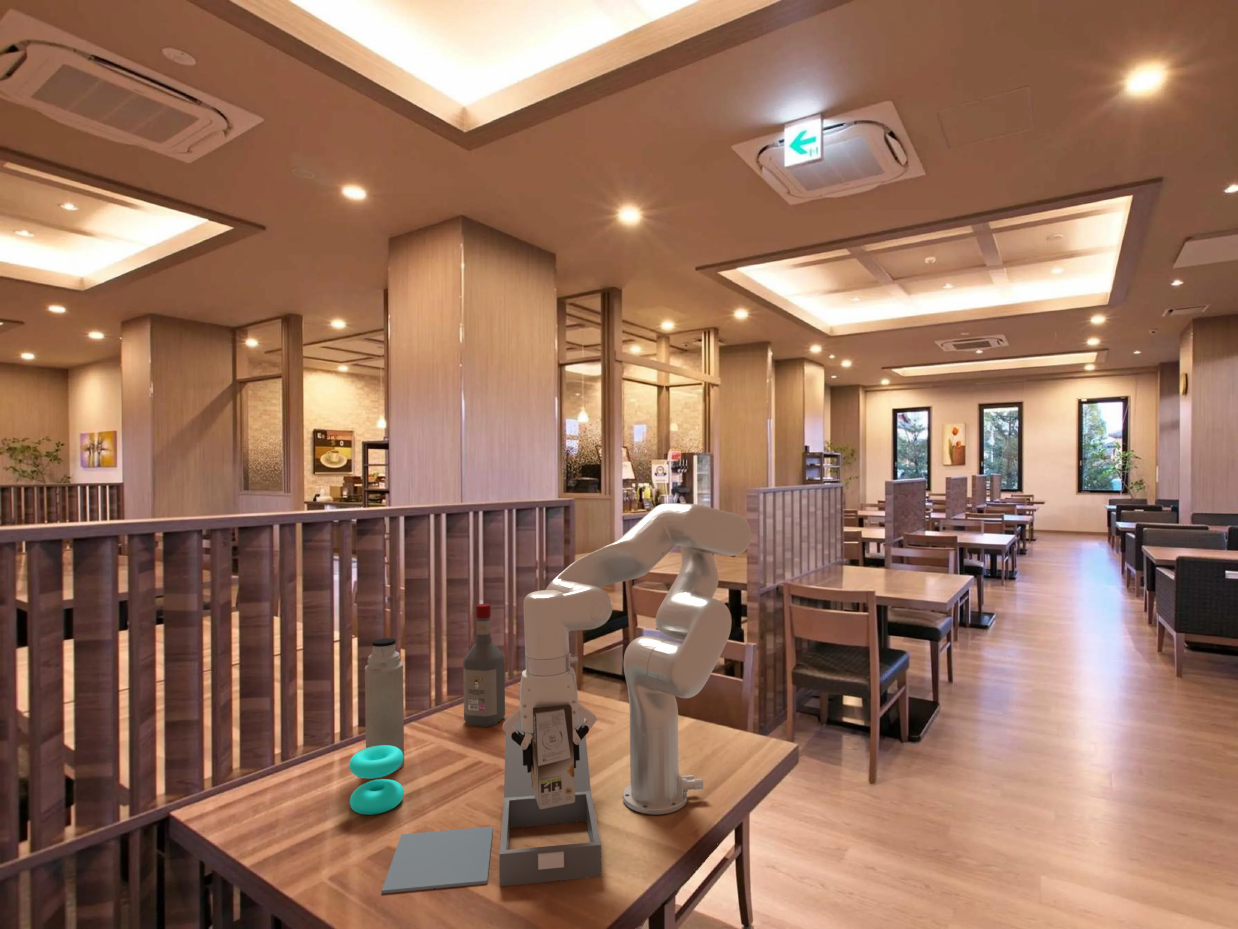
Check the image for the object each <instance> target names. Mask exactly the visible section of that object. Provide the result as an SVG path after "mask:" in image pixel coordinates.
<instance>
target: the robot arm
mask: <svg viewBox="0 0 1238 929" xmlns="http://www.w3.org/2000/svg"><path fill="white" fill-rule="evenodd" d="M751 540H752V529H751V526H750V524H749V522H748V521H747V519H746V518H745V517H744V516H742V515H740V514H737V513H734V512H730V511H726V510H722V509H717V508H715V507H711V506H706V505H702V504H696V503H680V502H678V503H676V502H666V503H661V504H658V505H656V506H655V507H654V508H652V509H651V510H650V511H649V512H648V513H647V514H646V515H644V517H642V518H641V519H640V520H639V521H638V522H637V523H636V524H634V525H633V526H632V527H631V528H630V529H628V531H626V532H625V533H624V534H623V535H622V536H621V537H619V538H618V539H617V540H615V541H614V542H613V543H610V544H608V545H605V546H603V547H600V548H599V549H596V550H595V551H593V552H590V553H588V554H586V555H584V556H582V557H580V558H578V559H576V560H575V561H574V562H572V563H571V564H569V565H568V566H567V567H566V568H565V569H564V570H563V571H561V572H560V573H559V574H558V575H557V576H555V578H553V580H552V581H551V582H550V583H549V584H548V585H547V586H546V588H545V590H536V591H533V592H529V593H528V594H527V595H526V596H525V597H524V599H523V624H524V625H523V627H524V628H523V630H524V631H523V632H524V650H525V651H524V652H525V654H524V655H525V656H524V657H525V670H523V671H522V672H521V675H520V684H519V708H518V709H517V710H516V711H515V712H513V713H512V714H511V715H510V716H508V717H509V718H508V719H507V720H506V719H505V721H504V722H503V724H502V729H503V731H504V732H505V734H506V733H507V734H508V735H509V736H510V737H511V738H512V740H514V741H515V742H516V743H517V744H518V745H519V746H521V749H523V766H527V773H530V772H532V762H531V743H530V741H531V738H532V736H533V708H537V707H548V706H560V705H570V706H571V707H572V726H573V753H574V768H576V761H579V760H580V754H579V744H580V743H581V740H582V739H583V738H584V737H585V736H587V735H588V734H589V732H590V730H591V728H592V727H593V726H594V725H595V724H596V722H597V715H596V714H595V713H593V712H592V711H591V710H589V709H588V708H586V707H585V706H584V705H582V704H581V703H579V692H578V684H577V676H576V672H575V668H574V667H572V665H574V664H576V663H577V664H578V663H579V656H578V654H574V653H573V654H572V653H571V652H570V642H569V639H570V638H569V636H570V635H569V633H570V632H571V631H572V632H573V631H584V630H585V631H586V630H594V629H597V628H600V627H601V626H603V625H604V624H605V623H607V622H608V620H610V618H611V616H612V613H613V601H612V598H611V596H610V595H609V594H608V592H607V591H606V590H604V589H602V588H603V587H605V586H608V585H612V584H616V583H623V582H628V581H631V580H636V579H639V578H642V577H644V576H646V575H648V573H649V572H651V571H652V569H653V568H655V566H656V565H658V564H659V563H660V562H661V561H662V560H663V559H664V558H665V557H666V556H667V555H668V554H669V553H670V552H671V551H672V550H673V549H674V548H676V547H679V548H680V554H681V566H680V570H679V572H678V574H677V575H676V578H675V580H674V582H673V583H672V584H671V587H670V588H669V590H668V592H667V593H666V595H665V597H663V598H664V599H663V601H662V602H661V603H660V606H659V607H658V609H657V612H656V615H655V626H656V629H657V630H658V632H660V634H662V635H664V636H665V637H667V638H670V639H673V640H676V641H677V642H676V641H673V640H670V639H666V638H661V637H657V636H653V635H643V636H639V637H636V638H634V639H633V640H632V641H630V643H629V644H628V646H627V647H626V649H625V651H624V654H623V655H624V656H623V672H624V676H625V681H626V685H627V693H628V704H629V705H628V706H629V761H630V762H629V763H630V764H629V765H630V767H629V769H630V773H629V774H630V783H629V784H628V785H626V787H625V788H623V792H622V800H623V803H624V804H625V806H626V807H628V809H629V808H630V809H631V811H635V812H638V813H641V814H645V815H654V816H655V815H665V814H672V813H674V812H676V811H679V810H680V809H682V808H683V807H685V805H686V804H687V802H688V801H687V800H688V791H689V790H694V791H698V790H704V781H703V778H695V776H694V774H686V775H682V774H681V773H680V766H679V764H680V763H679V761H680V760H679V758H680V757H679V754H680V753H679V712H678V709H679V708H678V703H677V699H676V697H677V698H681V699H690V698H693V697H695V696H696V695H698V694H699V693H700V692H701V691H702V689H703V688H704V687H705V685H706V684H707V682H708V681H709V678H710V676H711V674H712V673H713V671H714V668H715V666H716V664H717V662H718V660H719V659H720V657H721V655H722V653H723V651H724V649H725V647H726V645H727V643H728V640H729V637H730V634H731V630H732V614H731V612H730V610H729V607H728V606H727V605H726V604H725V603H724V602H723V601H722V600H719V599H718V598H717V599H716V598H714V595H715V593H716V591H717V589H718V586H719V572H718V569H717V566H716V562H715V559H714V556H713V554H714V555H721V556H722V555H724V556H730V557H731V556H732V557H733V556H734V557H735V556H740V555H741V554H743V553H744V552H745V551H746V550H747V549H748V548H749V546H750V544H751ZM678 641H679V642H678ZM680 641H681V642H682V643H680ZM579 714H580V715H581V716H582V717H584V724H582V725H581V726H580V728H579V729H578V730H577V727H578V726H579ZM519 720H520V726H521V730H522V732H524V733H523V735H522V734H521V733H520V732H519V731H518V730H516V729H515V728H514V727H513V726H514V725H515V724H516V723H517V722H518V721H519Z"/></svg>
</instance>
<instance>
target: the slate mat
mask: <svg viewBox="0 0 1238 929" xmlns="http://www.w3.org/2000/svg"><path fill="white" fill-rule="evenodd" d="M493 831H494V826H485V827H484V826H483V827H470V828H462V829H461V828H460V829H450V830H449V829H448V830H436V831H426V832H415V833H414V832H413V833H402V834H401V835H400V838H399V841H398V843H397V846H396V849H395V852H394V854H393V857H392V859H391V863H390V866H389V869H388V871H387V874H386V877H385V880H384V882H383V886H382V889H381V894H394V893H403V892H413V891H414V892H415V891H424V890H435V889H445V888H454V887H465V886H467V887H468V886H476V885H477V886H478V885H486V884H488V881H489V870H490V863H491V862H490V859H491V851H492V842H493ZM434 888H435V889H434Z"/></svg>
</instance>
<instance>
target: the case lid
mask: <svg viewBox="0 0 1238 929" xmlns="http://www.w3.org/2000/svg"><path fill="white" fill-rule="evenodd" d="M509 717H510V716H507V717H506V718H505V721H506V720H507V719H508V718H509ZM584 723H585V718H584V717H582V716H581V715H580V714H579V726H578V727H577V730H578V729H579V728H580V726H581V725H582V724H584ZM513 727H514V728H515V729H516V730H518V731H519V732H520V733H521V734H522V735H523V733H524V732H522V730H521V726H520V720H519V721H518V722H517V723H516V724H515V725H514V726H513ZM586 736H587V735H586ZM586 736H585V737H584V738H583V739H582V740H581V743H580V744H579V754H580V760H579V761H576V768H574V780H575V792H586V791H591V792H592V789H591V779H590V778H591V777H590V776H591V775H590V768H589V765H590V764H589V757H588V756H589V755H588V745H587V737H586ZM504 746H505V748H504V777H503V778H504V783H503V784H504V785H503V799H504V798H510V797H523V796H535V795H534V792H533V789H532V786H531V772H530V773H527V766H523V749H521V746H519V745H518V744H517V743H516V742H515V741H514V740H512V738H511V737H510V736H509V735H508V734H507V733H506V732H505V745H504Z"/></svg>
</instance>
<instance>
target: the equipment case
mask: <svg viewBox="0 0 1238 929" xmlns="http://www.w3.org/2000/svg"><path fill="white" fill-rule="evenodd" d="M594 805H595V804H594V799H593V795H592V790H591V791H586V792H575V802H574V803H571V804H565V805H560V806H555V807H550V808H545V809H539V806H538V803H537V801H536V798H535V796H523V797H510V798H504V797H503V803H502V817H501V818H502V819H501V830H500V841H499V842H500V844H499V859H498V860H499V887H507V886H515V885H516V886H517V885H527V884H528V885H529V884H538V883H547V882H548V883H549V882H557V881H556V880H560V881H568V880H577V879H579V878H580V879H587V878H586V877H591V878H599V877H603V876H602V871H603V870H602V867H603V866H602V843H601V837H600V831H599V826H598V821H597V816H596V811H595V810H596V809H595V806H594ZM582 822H583V823H584V822H585V823H586V827H587V833H588V840H589V841H588V842H580V843H579V842H578V843H570V844H568V843H567V844H557V845H548V846H535V847H525V848H515V849H514V848H513V849H509V845H510V828H511V829H512V828H524V827H534V826H547V825H557V824H556V823H560V824H570V823H582ZM580 879H579V880H580Z"/></svg>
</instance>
